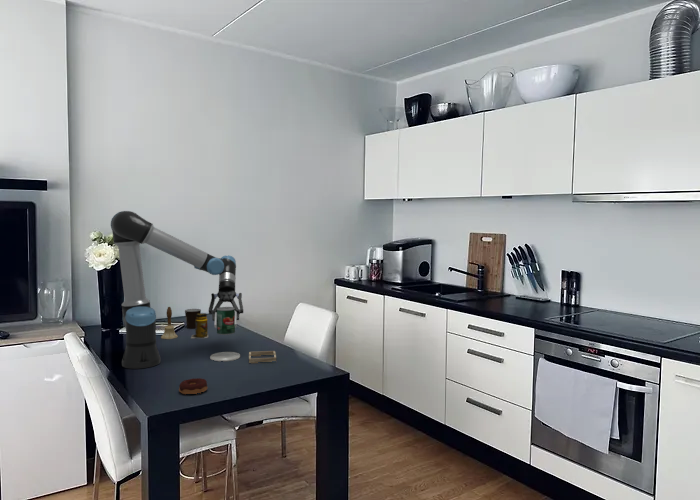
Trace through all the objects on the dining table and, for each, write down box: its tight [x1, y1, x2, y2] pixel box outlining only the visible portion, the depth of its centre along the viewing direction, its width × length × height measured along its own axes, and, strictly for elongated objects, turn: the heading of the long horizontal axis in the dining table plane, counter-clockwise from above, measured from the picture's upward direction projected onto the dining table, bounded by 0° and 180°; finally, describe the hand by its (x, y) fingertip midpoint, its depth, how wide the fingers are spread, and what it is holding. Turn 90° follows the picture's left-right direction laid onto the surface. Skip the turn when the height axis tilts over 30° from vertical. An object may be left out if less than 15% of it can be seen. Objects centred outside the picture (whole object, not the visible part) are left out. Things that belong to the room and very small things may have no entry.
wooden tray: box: [248, 350, 277, 364], centre depth 221 cm, size 12×12×2 cm
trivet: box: [209, 351, 241, 362], centre depth 224 cm, size 13×13×1 cm
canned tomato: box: [216, 306, 236, 336], centre depth 223 cm, size 8×8×11 cm
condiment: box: [190, 312, 209, 339], centre depth 261 cm, size 7×8×12 cm
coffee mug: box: [184, 308, 202, 330], centre depth 283 cm, size 12×9×10 cm
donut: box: [178, 377, 209, 395], centre depth 180 cm, size 10×10×4 cm
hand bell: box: [160, 306, 178, 340], centre depth 258 cm, size 8×8×16 cm
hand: (225, 326), depth 219 cm, fingers closed on canned tomato, 8 cm apart
